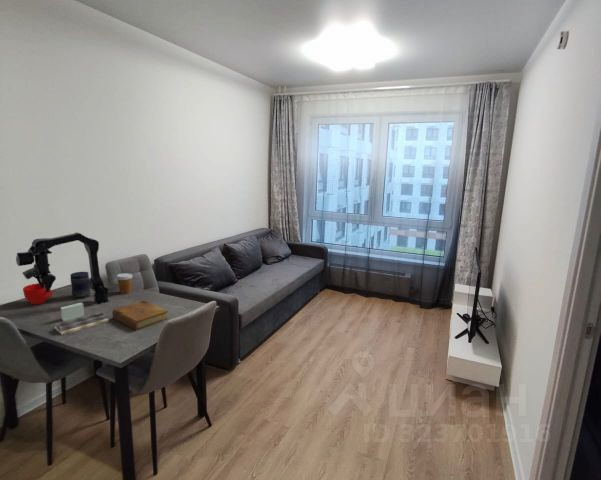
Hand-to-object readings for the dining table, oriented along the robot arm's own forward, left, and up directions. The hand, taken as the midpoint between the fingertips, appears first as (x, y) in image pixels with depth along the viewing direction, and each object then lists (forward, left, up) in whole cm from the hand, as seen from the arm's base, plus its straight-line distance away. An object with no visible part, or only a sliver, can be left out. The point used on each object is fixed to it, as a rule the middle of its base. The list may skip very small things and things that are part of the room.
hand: (44, 290), depth 192 cm
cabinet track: (-8, +26, -15) cm, 31 cm away
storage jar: (-23, -17, -15) cm, 32 cm away
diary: (-32, +40, -15) cm, 53 cm away
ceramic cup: (-3, -22, -15) cm, 27 cm away
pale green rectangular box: (-8, +13, -15) cm, 21 cm away
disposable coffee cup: (-46, -6, -15) cm, 48 cm away
